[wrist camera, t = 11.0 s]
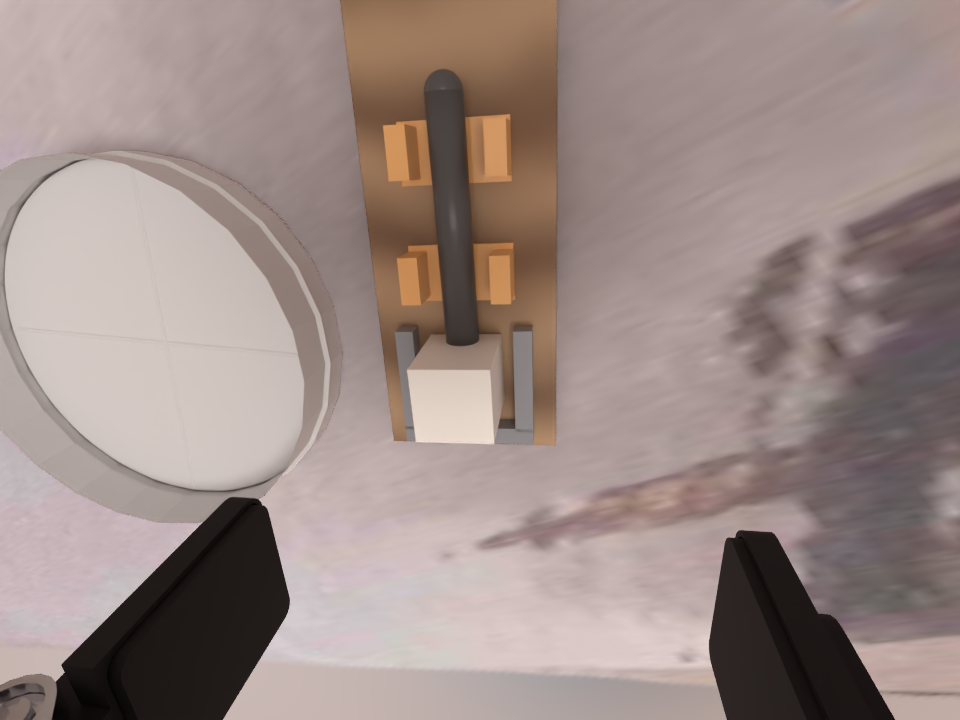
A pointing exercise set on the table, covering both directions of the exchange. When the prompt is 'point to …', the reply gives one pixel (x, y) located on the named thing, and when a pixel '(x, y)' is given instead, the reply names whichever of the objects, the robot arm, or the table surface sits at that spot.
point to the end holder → (523, 423)
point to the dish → (158, 333)
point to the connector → (454, 294)
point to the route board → (494, 205)
